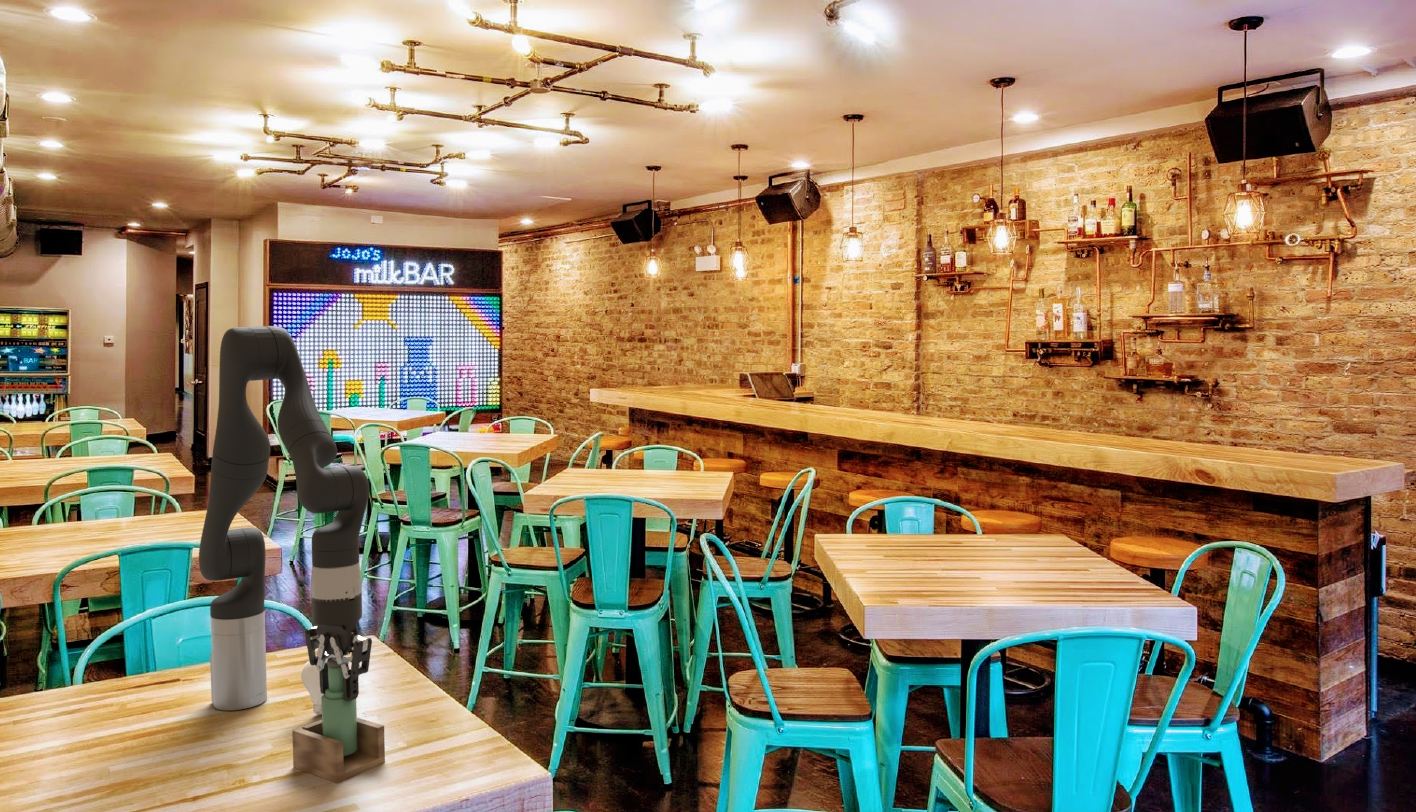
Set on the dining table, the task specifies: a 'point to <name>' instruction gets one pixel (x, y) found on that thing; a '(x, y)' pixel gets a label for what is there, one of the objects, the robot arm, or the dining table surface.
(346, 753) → the bottle
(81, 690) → the dining table surface
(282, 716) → the dining table surface
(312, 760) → the brown open-sided frame
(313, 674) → the light bulb
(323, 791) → the dining table surface
